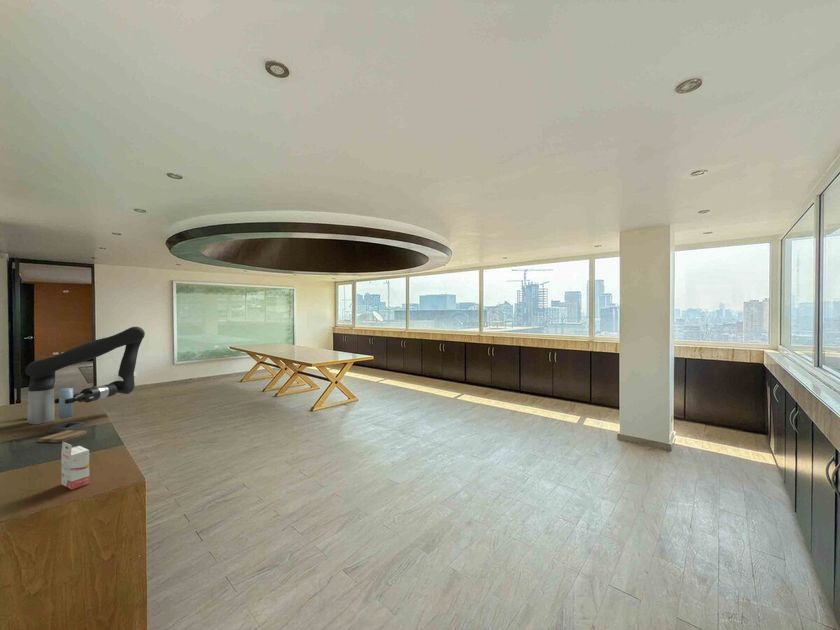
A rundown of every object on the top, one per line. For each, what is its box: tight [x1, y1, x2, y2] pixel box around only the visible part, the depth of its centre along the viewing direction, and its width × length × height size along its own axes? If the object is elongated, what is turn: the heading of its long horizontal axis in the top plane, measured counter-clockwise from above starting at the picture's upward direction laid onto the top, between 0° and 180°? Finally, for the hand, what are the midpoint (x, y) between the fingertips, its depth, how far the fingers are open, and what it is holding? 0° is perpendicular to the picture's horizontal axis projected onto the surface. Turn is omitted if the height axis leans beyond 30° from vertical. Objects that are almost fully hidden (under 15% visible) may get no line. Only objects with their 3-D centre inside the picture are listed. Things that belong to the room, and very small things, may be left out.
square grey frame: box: [48, 421, 86, 433], centre depth 172 cm, size 9×9×2 cm
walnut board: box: [38, 429, 88, 443], centre depth 160 cm, size 11×11×2 cm
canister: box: [58, 387, 74, 420], centre depth 171 cm, size 5×5×14 cm
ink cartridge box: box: [60, 441, 91, 491], centre depth 117 cm, size 9×5×15 cm, turn 62°
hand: (60, 401), depth 169 cm, fingers closed on canister, 5 cm apart
